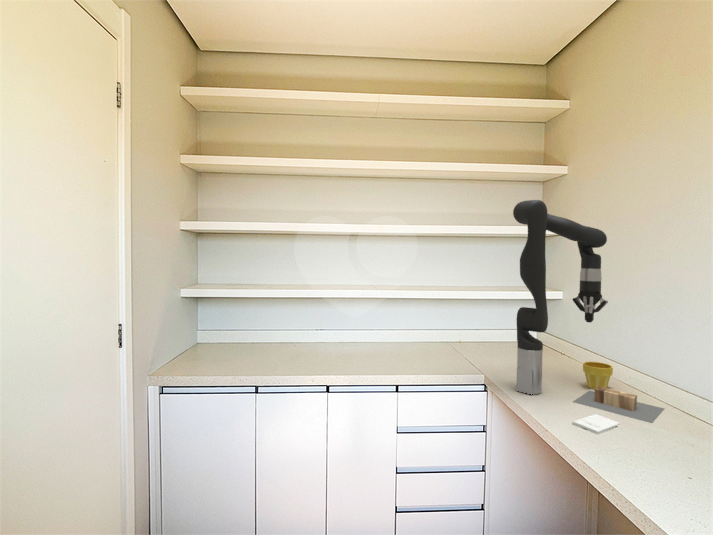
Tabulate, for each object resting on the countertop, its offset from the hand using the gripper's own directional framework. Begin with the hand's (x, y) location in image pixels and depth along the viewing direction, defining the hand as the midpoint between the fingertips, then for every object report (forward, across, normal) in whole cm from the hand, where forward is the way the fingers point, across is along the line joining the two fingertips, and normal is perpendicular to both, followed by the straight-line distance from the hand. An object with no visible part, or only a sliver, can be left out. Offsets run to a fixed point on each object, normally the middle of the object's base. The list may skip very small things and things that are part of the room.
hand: (589, 322), depth 162 cm
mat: (+27, +14, -14) cm, 34 cm away
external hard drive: (+28, +14, -37) cm, 48 cm away
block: (+24, +20, -14) cm, 34 cm away
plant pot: (+27, +3, +2) cm, 27 cm away
